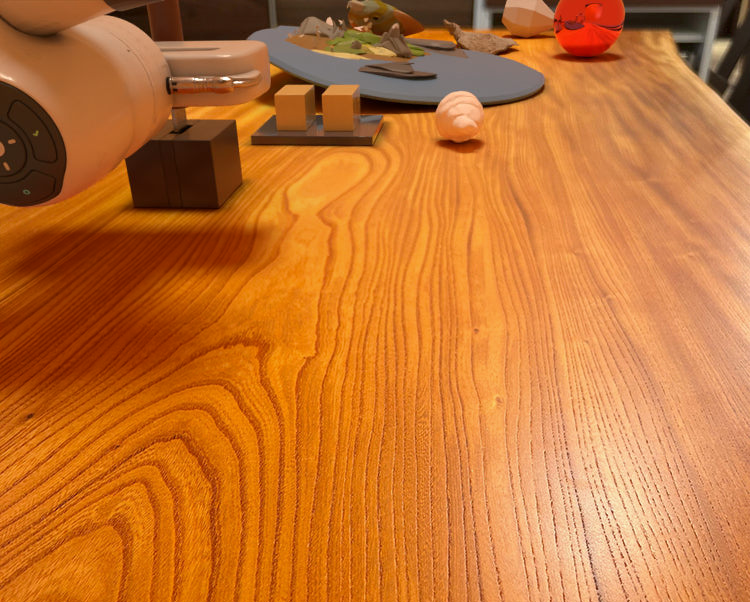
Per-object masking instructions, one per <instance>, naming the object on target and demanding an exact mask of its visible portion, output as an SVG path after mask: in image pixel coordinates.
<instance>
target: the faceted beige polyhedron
mask: <svg viewBox="0 0 750 602" xmlns="http://www.w3.org/2000/svg"><path fill="white" fill-rule="evenodd" d="M554 14H555V12H554V11H553V10H552V9H551V8H550V7H549V6H548V5H547V4H546V3H545V2H544V0H506V1H505V6H504V9H503V13H502V18H501V23H502V24H503V26H504V27H505V28H506V30H508V31H509V33H510V34H511V35H513V36H517V37H521V38H526V39H528V38H531V37H534V36H536V35H539V34H541V33H544V32H546V31H549V30H553V19H554Z"/></svg>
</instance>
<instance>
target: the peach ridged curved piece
mask: <svg viewBox="0 0 750 602" xmlns="http://www.w3.org/2000/svg"><path fill="white" fill-rule="evenodd" d="M485 117H486V116H485V112H484V107H483V105H481V103H480V102H479V101H478V99H477V98H476V97H475V96H474V95H473V94H471V93H469V92H466V91H458V92H453V93H450V94H448V95H447V96H446V97H445V98H444V99H443V100H442V101H441V102H440V104H439V105H437V108H436V110H435V113H434V121H435V127H436V130H437V133H438V134H439V135H440V136H441V137H442V138H443V139H445V140H448V141H450V140H451V141H453V142H454V143H456V144H457V143H464V142H467V141H469V140H471V139H472V138H473V137H475V136H476V135H478V134H479V133H480V131H481V130H482V127H483V125H484V121H485Z"/></svg>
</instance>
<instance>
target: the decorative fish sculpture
mask: <svg viewBox="0 0 750 602" xmlns="http://www.w3.org/2000/svg"><path fill="white" fill-rule="evenodd" d="M347 5H348V8H349V11H348V13H347V20H348V22H349V25H350V26H351V28H352V30H356V31H359V32H363V33H364V32H369V33H372V34H375V35H379V36H382V35H383V33H384V32H387V33H389V30H390V28H391V27H392V26H393V25H394V24H396V23H398V24H399V31H400V35H402V34H403V36H404V38H407V37H410V36H412V35H416V34H419V33H422V32H424V31H425V30H426V27H424V25H423V24H422V23H420V21H418V20H417V19H415V18H414V17H412V16H411V15H409V14H407V13H406V12H403V11H401V10H400V9H398V8H396V7H395V6H393V5H390V4H389V3H388V4H387V3H385V2H383V1H382V0H362V1H359V0H349V1H348V2H347ZM364 18H368V20H367V21H366V22H365V21H364ZM349 20H352V21H353V23H350V21H349ZM370 22H372V25H371V28H369V27H368V30H367V31H365V29H364V27H362V28H360V29H361V30H362V31H360V30H358V29H355V28H354V27H361V26H367V25H368V24H369V23H370ZM370 31H371V32H370Z"/></svg>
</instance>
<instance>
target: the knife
mask: <svg viewBox="0 0 750 602" xmlns="http://www.w3.org/2000/svg"><path fill="white" fill-rule="evenodd" d="M179 3H180V2H179V0H163V1H159V2H155V3H151V4H148V5H146V9H147V15H148V21H149V29H150V35H151V39H152V40H153V41H154V42H170V41H185V40H184V32H183V24H182V18H181V10H180V4H179ZM187 108H189V107H172V110H171V113H170V116H171V119H172V121H173V128H174V134H182V133H184V132H185V131H186V130H188V124H187V119H188V118H187V112H186V111H187V110H186V109H187Z"/></svg>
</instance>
